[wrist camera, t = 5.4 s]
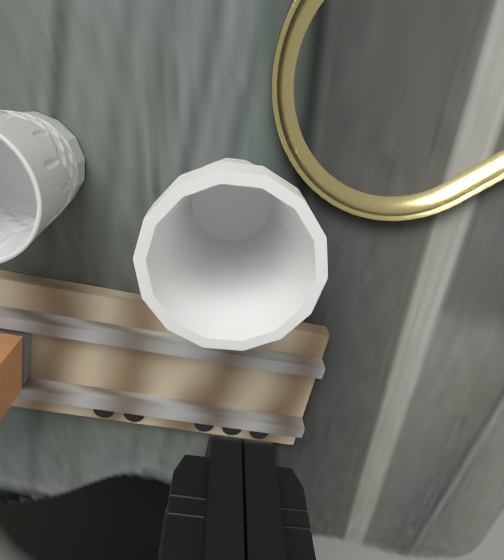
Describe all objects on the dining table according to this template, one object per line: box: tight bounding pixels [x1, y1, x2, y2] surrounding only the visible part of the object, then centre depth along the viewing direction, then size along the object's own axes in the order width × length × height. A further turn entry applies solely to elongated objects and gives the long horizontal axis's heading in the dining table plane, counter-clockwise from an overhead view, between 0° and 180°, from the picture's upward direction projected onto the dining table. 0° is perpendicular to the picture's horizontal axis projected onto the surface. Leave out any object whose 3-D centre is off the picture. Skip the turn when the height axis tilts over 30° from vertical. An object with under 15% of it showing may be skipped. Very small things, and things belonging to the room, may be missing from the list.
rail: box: [0, 270, 330, 445], centre depth 37 cm, size 32×12×3 cm, turn 78°
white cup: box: [0, 110, 85, 263], centre depth 27 cm, size 8×8×10 cm
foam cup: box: [133, 158, 328, 351], centre depth 28 cm, size 10×9×13 cm
